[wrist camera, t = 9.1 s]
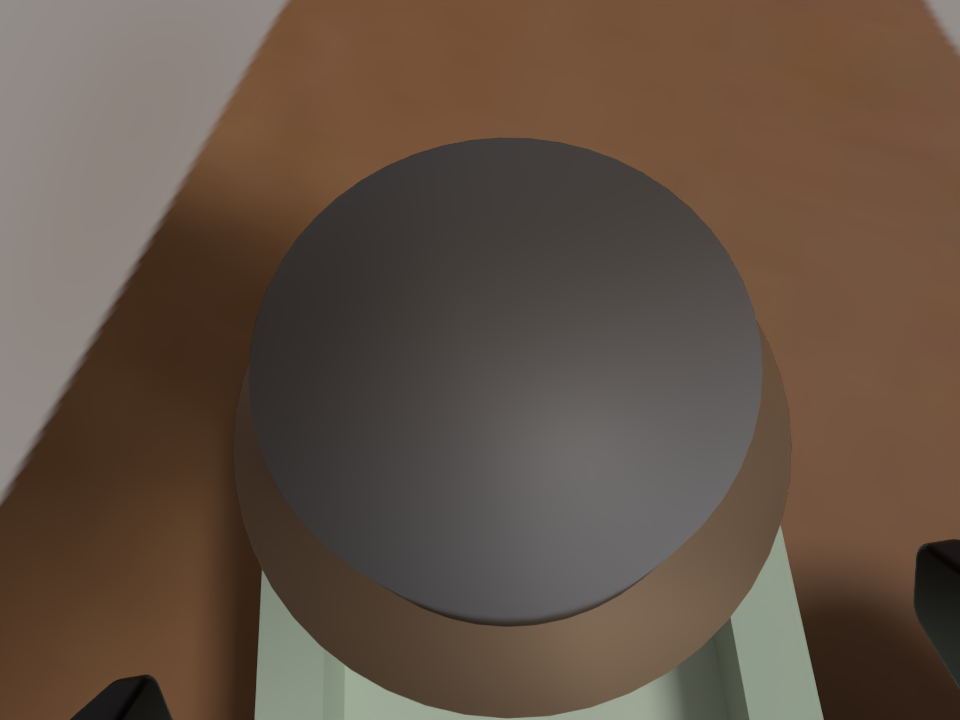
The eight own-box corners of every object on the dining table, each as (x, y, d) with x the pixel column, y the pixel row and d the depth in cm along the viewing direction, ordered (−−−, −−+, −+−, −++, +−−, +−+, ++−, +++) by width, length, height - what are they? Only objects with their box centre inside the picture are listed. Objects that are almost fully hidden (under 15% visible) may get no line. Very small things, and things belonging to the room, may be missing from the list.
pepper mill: (660, 637, 18) (1024, 535, 5) (461, 725, 18) (259, 879, 4) (571, 446, 20) (655, -1, 7) (389, 520, 20) (97, 197, 6)
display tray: (808, 851, 17) (859, 882, 15) (289, 882, 18) (244, 919, 15) (704, 337, 22) (727, 288, 20) (305, 371, 23) (273, 328, 20)
